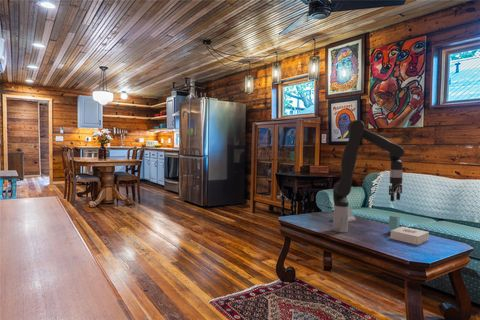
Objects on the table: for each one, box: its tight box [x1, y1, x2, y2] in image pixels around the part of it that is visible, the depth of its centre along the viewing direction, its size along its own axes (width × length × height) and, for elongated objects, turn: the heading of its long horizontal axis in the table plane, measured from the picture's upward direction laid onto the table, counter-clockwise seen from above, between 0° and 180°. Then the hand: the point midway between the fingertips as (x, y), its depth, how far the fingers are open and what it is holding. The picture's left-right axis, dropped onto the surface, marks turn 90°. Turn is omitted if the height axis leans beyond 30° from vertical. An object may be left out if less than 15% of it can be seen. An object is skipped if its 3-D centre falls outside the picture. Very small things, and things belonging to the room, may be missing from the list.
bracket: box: [388, 214, 401, 233], centre depth 209 cm, size 4×5×11 cm
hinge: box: [348, 208, 357, 222], centre depth 241 cm, size 17×5×10 cm, turn 120°
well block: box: [390, 226, 430, 246], centre depth 194 cm, size 16×16×5 cm
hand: (395, 200), depth 208 cm, fingers open, 8 cm apart
